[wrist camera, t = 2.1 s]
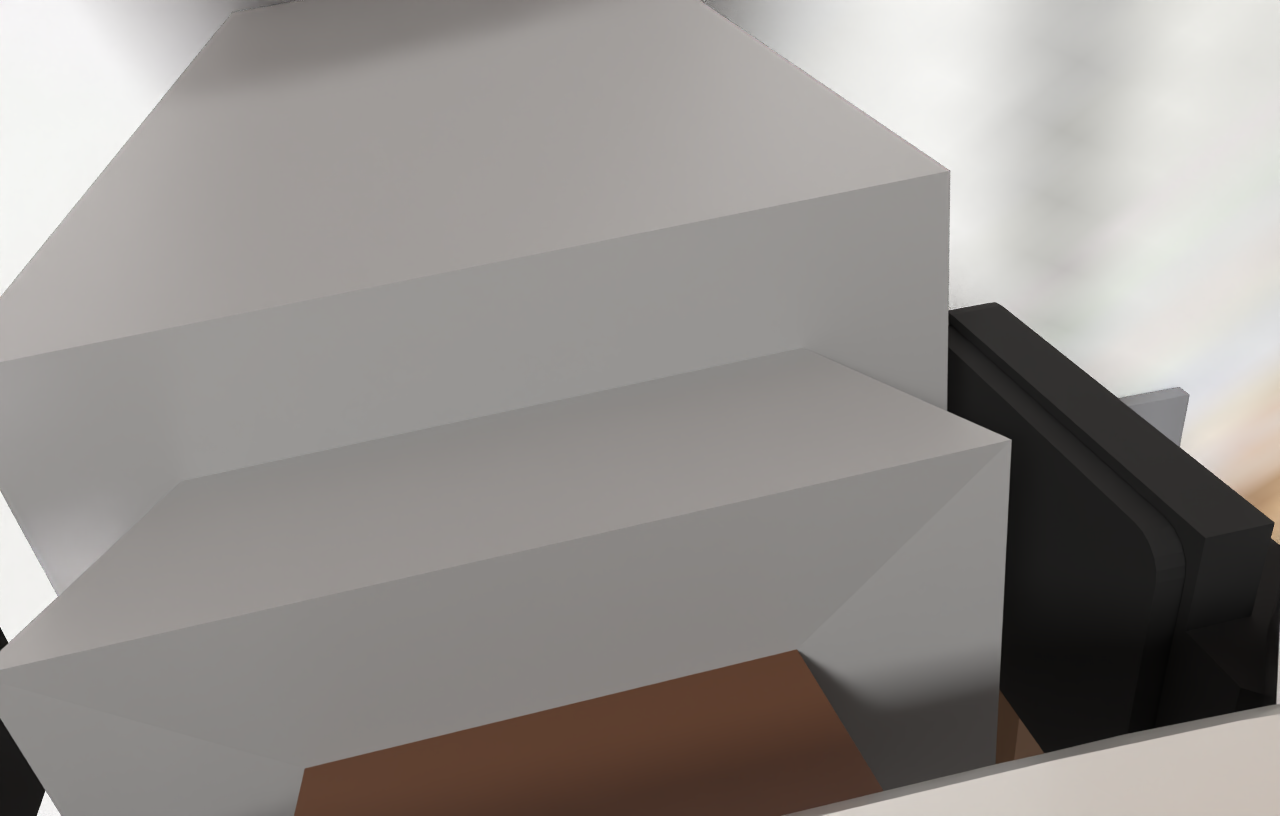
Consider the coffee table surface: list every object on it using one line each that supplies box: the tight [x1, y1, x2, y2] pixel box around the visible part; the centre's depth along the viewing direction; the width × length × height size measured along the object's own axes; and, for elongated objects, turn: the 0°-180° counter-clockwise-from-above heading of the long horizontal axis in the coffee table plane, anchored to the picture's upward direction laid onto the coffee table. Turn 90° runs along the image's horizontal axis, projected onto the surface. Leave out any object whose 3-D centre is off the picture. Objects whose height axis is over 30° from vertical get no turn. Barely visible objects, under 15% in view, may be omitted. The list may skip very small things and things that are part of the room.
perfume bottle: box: [0, 0, 1012, 816], centre depth 13 cm, size 7×7×18 cm
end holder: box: [995, 387, 1189, 764], centre depth 27 cm, size 22×16×4 cm
